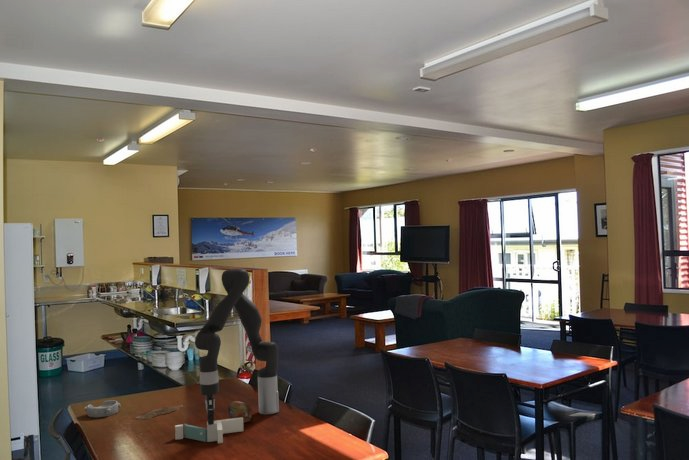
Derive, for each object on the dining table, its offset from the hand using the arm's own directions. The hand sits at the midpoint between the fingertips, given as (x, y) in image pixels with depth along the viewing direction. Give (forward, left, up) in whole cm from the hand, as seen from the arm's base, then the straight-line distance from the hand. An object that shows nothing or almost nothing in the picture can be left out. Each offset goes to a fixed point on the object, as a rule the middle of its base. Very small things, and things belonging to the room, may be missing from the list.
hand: (210, 421), depth 219 cm
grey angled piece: (0, -3, -8) cm, 9 cm away
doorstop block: (0, 0, -8) cm, 8 cm away
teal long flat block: (+7, -4, -8) cm, 11 cm away
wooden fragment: (+22, -50, -9) cm, 56 cm away
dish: (+49, -58, -9) cm, 77 cm away
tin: (-14, -22, -9) cm, 28 cm away
